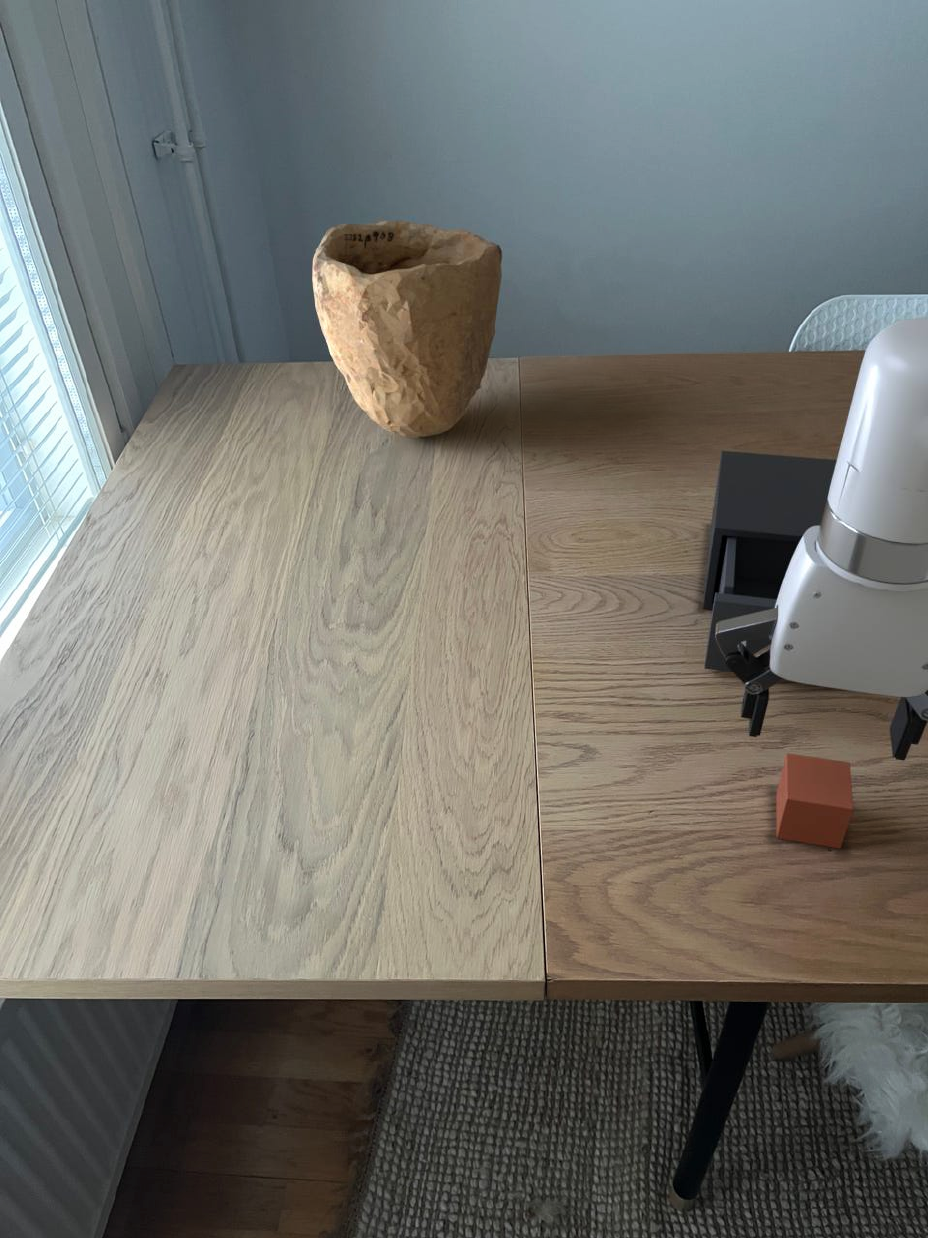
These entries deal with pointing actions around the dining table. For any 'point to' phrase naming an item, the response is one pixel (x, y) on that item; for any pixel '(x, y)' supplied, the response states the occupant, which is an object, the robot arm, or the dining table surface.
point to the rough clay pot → (408, 318)
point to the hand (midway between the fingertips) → (824, 734)
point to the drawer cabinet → (764, 503)
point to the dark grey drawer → (747, 587)
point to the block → (814, 800)
